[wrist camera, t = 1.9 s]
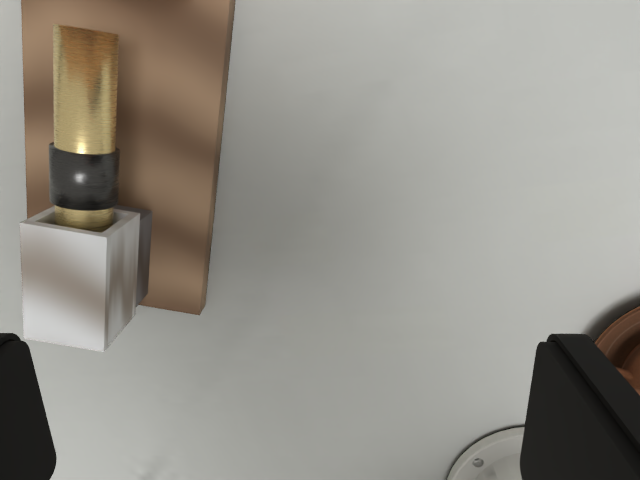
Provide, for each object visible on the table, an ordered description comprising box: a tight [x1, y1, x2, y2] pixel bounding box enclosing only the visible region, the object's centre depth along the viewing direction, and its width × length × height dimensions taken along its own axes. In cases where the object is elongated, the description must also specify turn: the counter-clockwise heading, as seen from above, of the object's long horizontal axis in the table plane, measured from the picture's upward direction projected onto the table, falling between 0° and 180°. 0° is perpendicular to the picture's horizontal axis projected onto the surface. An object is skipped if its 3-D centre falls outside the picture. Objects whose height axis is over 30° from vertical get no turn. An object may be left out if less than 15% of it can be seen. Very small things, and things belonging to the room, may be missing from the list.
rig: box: [20, 0, 235, 352], centre depth 29 cm, size 24×12×8 cm, turn 171°
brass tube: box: [49, 24, 120, 233], centre depth 28 cm, size 16×4×4 cm, turn 171°
